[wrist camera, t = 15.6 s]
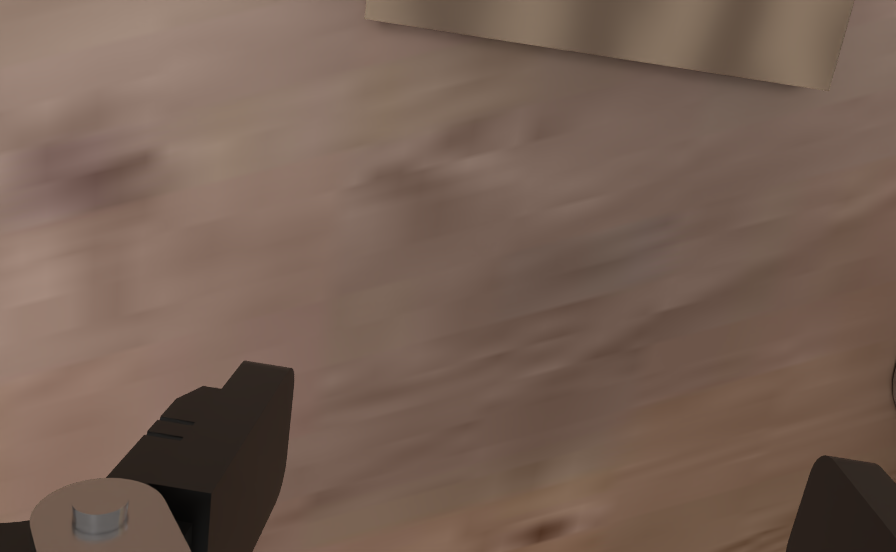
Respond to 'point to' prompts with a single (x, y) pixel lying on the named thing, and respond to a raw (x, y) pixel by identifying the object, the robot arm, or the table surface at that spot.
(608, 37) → the walnut stand
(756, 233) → the table surface
